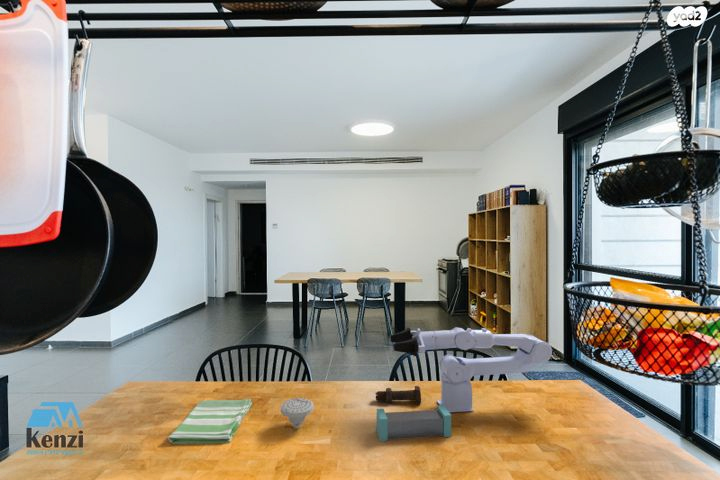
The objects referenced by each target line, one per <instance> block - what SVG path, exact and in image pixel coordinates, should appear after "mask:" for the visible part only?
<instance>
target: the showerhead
mask: <svg viewBox="0 0 720 480" xmlns="http://www.w3.org/2000/svg"><path fill="white" fill-rule="evenodd" d="M313 411H314V402H313V401H311V400H310V399H307V398H302V397H300V398H298V397H296V398H291V399H288V400H286V401H284V402H283V403H282V404H281V405H280V413H281V415H282V416H284V417H286V418H288V423H290V424H292V425H293V427H292V428H294V429H301V428H302V423H304V422H305V421H306V416H309V415H310V414H312V413H313Z"/></svg>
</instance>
